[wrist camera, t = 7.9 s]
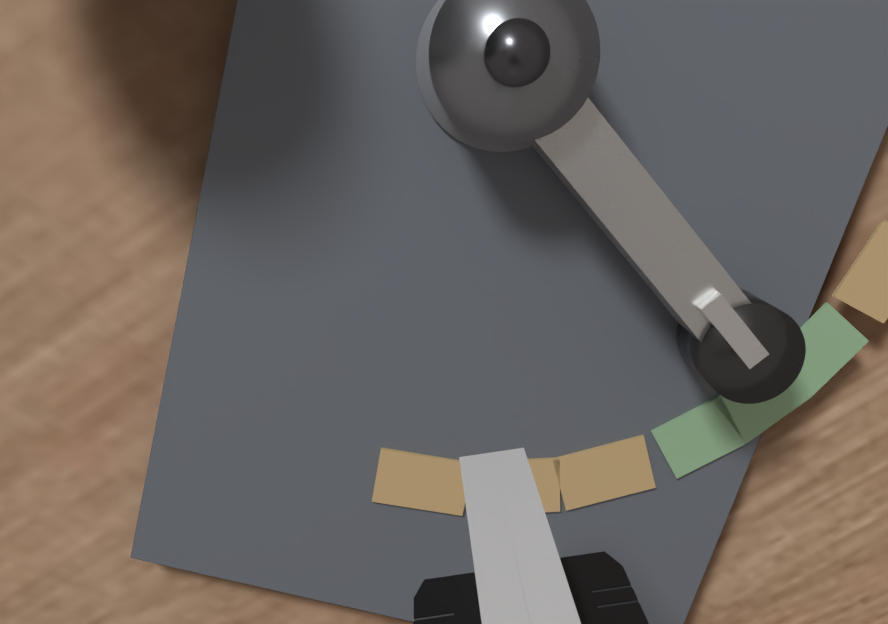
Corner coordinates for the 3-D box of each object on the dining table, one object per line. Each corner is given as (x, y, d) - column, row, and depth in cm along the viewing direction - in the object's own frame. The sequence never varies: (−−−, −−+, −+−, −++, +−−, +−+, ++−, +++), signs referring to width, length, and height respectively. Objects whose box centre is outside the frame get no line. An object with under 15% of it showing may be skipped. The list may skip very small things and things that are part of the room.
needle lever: (398, 54, 22) (391, 43, 19) (513, -53, 21) (529, -87, 18) (695, 406, 25) (740, 456, 21) (804, 321, 24) (870, 359, 21)
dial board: (142, 539, 28) (128, 560, 27) (287, -204, 22) (278, -225, 21) (723, 671, 30) (736, 698, 29) (1005, 21, 24) (1039, 15, 22)
